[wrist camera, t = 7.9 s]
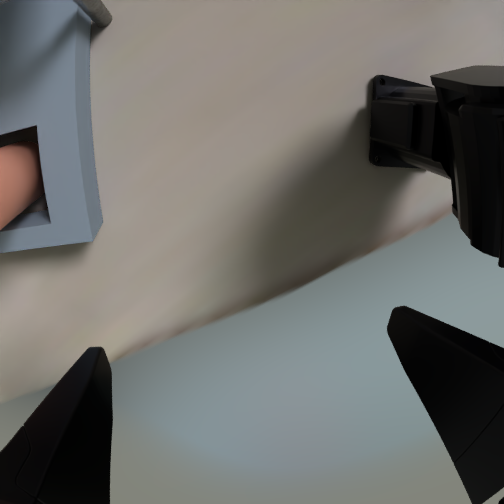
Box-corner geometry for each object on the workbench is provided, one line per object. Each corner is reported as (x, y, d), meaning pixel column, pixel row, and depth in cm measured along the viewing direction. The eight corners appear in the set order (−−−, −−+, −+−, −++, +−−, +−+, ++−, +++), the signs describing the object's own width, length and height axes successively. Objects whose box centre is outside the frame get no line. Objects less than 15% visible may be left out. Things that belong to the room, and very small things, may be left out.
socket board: (98, -48, 11) (88, -68, 8) (103, 222, 18) (92, 241, 16) (-31, -2, 8) (-52, -10, 6) (-18, 239, 16) (-38, 258, 14)
